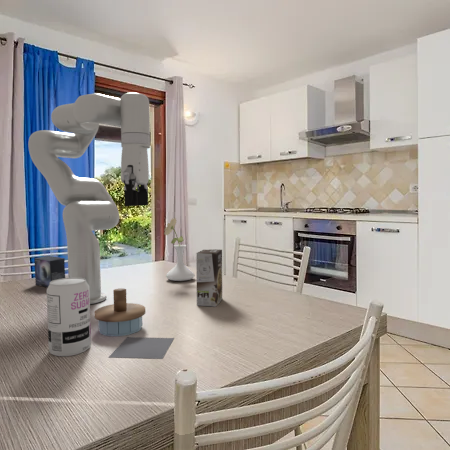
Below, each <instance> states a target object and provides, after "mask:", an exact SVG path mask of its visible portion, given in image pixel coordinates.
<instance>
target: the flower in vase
mask: <svg viewBox="0 0 450 450" xmlns="http://www.w3.org/2000/svg"><path fill="white" fill-rule="evenodd" d="M176 225H177V218H176V217H174V218H173V217H172V218H171V219H170V222H168V223H167V226H166V227H165V228H164V230H163V231H164V233H163V235H165V236H168V235H170V234H171V233H172V232H174V234H175V237H174V238H173V239H172V240H171V241H170V244H172V245H173V244H174V245H173V247H174V248H175V251H176V256H177V259H176V260H177V261H176V264H175V266H174V267H172V268H171V269H170V270H169V271H168V272H167V273H166V274H165V275H166V276H165V277H166V279H168V280H170V281H176V282H183V281H184V282H185V281H189V280H192V279H194V277H195V276H196V275H195V273H194V272H193V270H191V269H190V268H189V267H188V266H187V265H186V264H185V263H184V251H185V249H186V247H187V244H180V243H183V242H184V238H183V235H181V236H179V237H178V234H177V233H176V232H177V231H176V230H175V227H176ZM176 242H178V244H175V243H176Z"/></svg>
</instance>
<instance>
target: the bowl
mask: <svg viewBox="0 0 450 450" xmlns="http://www.w3.org/2000/svg"><path fill="white" fill-rule="evenodd" d="M97 323H98V325H97V326H98V331H99V334H100V335H103V336H107V337H122V336H124V337H125V336H128V335H132V334H135V333H138V332H139V331H141V330H142V327H143V316H142V317H139V318H137V319H133V320H129V321H122V322H104V321H99V320H97Z"/></svg>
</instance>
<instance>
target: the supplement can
mask: <svg viewBox="0 0 450 450" xmlns="http://www.w3.org/2000/svg"><path fill="white" fill-rule="evenodd" d="M90 307H91V304H90V297H89V285H88V284H87V282H86V279H84V278H69V277H65V278H63V279H57V280H53V281H51V282H50V284H49V286H48V288H47V287H46V310H47V311H46V312H47V316H46V317H47V336H48V338H47V339H48V352H49V353H50V354H51V355H54V356H56V357H71V356H76V355H80V354H82V353H84V352H86V351H87V350H88V349H90V348H91V346H92V340H91V339H92V333H91V329H92V328H91V308H90Z"/></svg>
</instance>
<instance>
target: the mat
mask: <svg viewBox="0 0 450 450" xmlns="http://www.w3.org/2000/svg"><path fill="white" fill-rule="evenodd" d="M174 340H175V338H174V337H148V336H147V337H141V336H140V337H139V336H137V337H136V336H126V337H125V339H124V340H123V341H122V342H121V343H120V344H119V345H118V346H117V347H116V348H115V349H114V350H113V351H112V353H110V354H109V356H108V358H110V359H111V358H115V359H117V358H118V359H120V358H121V359H148V360H149V359H150V360H151V359H154V360H163V358H164V357H165V355H166V354H167V352H168V350H169V348H170V346H171V345H172V343H173V341H174Z"/></svg>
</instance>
